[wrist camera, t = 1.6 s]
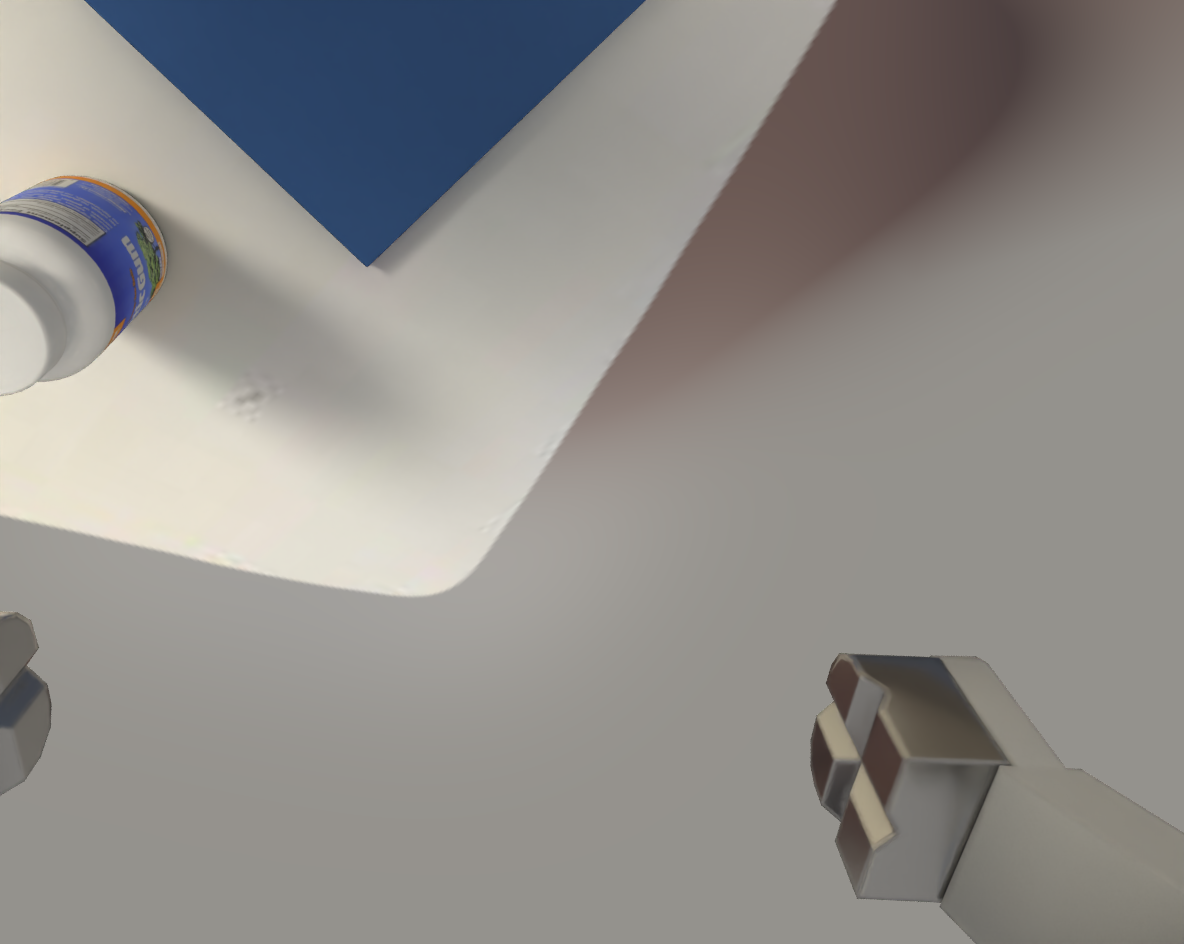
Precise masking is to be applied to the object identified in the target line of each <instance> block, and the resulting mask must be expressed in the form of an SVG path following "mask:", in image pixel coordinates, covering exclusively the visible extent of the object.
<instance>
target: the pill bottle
mask: <svg viewBox="0 0 1184 944" xmlns="http://www.w3.org/2000/svg"><path fill="white" fill-rule="evenodd" d="M166 270H167V250H166V245H165V242H164V239H163V236H162V234H161V232H160V229H159V227H158V226H157V224H156V222H155V221H154V219H153V218H152V217H151V215H150V214H149V213H148V211H147V210H146V209H145V208H144V207H143V206H142V205H141V204H140V203H139V202H138V201H136V200H135V199H134V198H133V197H131V196H130V195H129V194H127V193H126V192H124V191H123V190H121V189H119V188H117V187H115V186H113V185H111V184H109V183H107V182H104V181H102V180H99V179H95V178H91V177H84V176H60V177H55V178H52V179H48V180H46V181H43V182H40V183H38V184H36V185H35V186H33V187H31V188H29V189H27V190H25V191H23V192H21V193H19V194H17V195H15V196H13V197H11V198H9V199H7V200H5V201H3V202H1V203H0V396H4V395H11V394H14V393H17V392H21V391H23V390H25V389H27V388H29V387H31V386H32V385H34V384H35V383H36V382H47V381H53V380H59V379H62V378H66V377H68V376H71V375H74V374H76V373H77V372H79V371H81V370H83V369H84V368H86V367H87V366H88V365H90V364H91V363H92V362H93V361H94V360H95V359H96V358H97V357H98V356H99V355H100V354H102V352H103V351H104V350H105V349H106V348H107V347H108V346H109V345H110V344H111V343H112V342H113V341H114V340H115V338H116V337H117V336H118V335H119V334H120V333H121V332H122V331H123V330H124V329H125V328H126V327H127V326H128V324H129V323H130V322H131V321H132V320H133V319H134V318H135V317H136V316H137V315H138V314H139V313H140V312H141V311H142V310H143V309H144V307H145V306H146V305H147V304H148V303H149V302H150V301H151V300H152V299H153V298H154V296H155V295H156V294H157V292H158V291H159V289H160V287H161V286H162V283H163V281H164V278H165V275H166Z"/></svg>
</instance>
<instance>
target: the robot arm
mask: <svg viewBox="0 0 1184 944" xmlns="http://www.w3.org/2000/svg"><path fill="white" fill-rule="evenodd" d="M38 648H39V647H38V643H37V639H36V636H35V632H34V629H33V625H32V622H31V620H30V619H28V618H26V617H24V616H23V615H21V614H19V613H17V612H3V611H0V795H2V794H4V793H5V792H7V791H9V790H10V789H12V788H14V787H15V786H17V785H19V784H20V783H22V782H24V781H25V779H26V778H27V776H28V775H29V774H30V772H31V771H32V769H33V768H34V766H35V765H36V763H37V762H38V760H39V759H40V757H41V754H42V751H43V748H44V745H45V742H46V740H47V736H48V733H49V731H50V728H51V699H50V695H49V690H48V685H47V683H45V682H44V681H43V680H42V679H41V678H40V677H39V676H38V675H37V674H36V673H35V672H34V671H32V670H31V669H30V668H29V667H28V666H27V664H28V662H29V661H30V659H31V658H32V657H33V655H34V654H35V653H36V651H37V650H38ZM826 684H827V686H828V689H829V691H830V693H831V695H832V698H833V700H834V701H833V702H832V703H831V704H830V705H829V706H827V707H826V708H825V709H824V710H823V711H821V712H820V713H819V714H818V715H817V717H816V721H815V725H814V729H813V733H812V737H811V771H812V776H813V781H814V786H815V789H816V792H817V795H818V797H819V800H820V803H821V805H822V806H823V807H824V808H825V809H826V810H827V811H829V812H830V813H831V814H832V815H833V816H834V817H836V818H837V819H838V820H839V821H840V822H841V823H840V827H839V830H838V833H837V836H836V839H835V842H836V845H837V848H838V851H839V853H840V856H841V858H842V861H843V863H844V866H845V869H846V871H847V874H848V877H849V879H850V882H851V884H852V887H853V890H854V892H855V895H856V897H857V899H877V900H898V901H918V902H919V901H920V902H939V903H941V904H940V908H941V909H942V910H943V911H944V912H945V913H946V914H947V915H948V916H949V917H950V918H951V919H952V920H953V921H954V922H955V923H956V924H957V925H958V926H959V927H960V928H961V929H962V930H963V931H964V932H965V933H966V934H967V935H968V936H969V937H970V938H971V939H972V940H973V941H974V942H975V943H976V944H1184V833H1183V832H1181V831H1180V830H1178V829H1177V828H1175V827H1174V826H1172V825H1170V824H1169V823H1167V822H1165V821H1164V820H1162V819H1161V818H1159V817H1157V816H1156V815H1154V814H1153V813H1151V812H1149V811H1148V810H1146V809H1145V808H1143V807H1141V806H1140V805H1138V804H1137V803H1135V802H1133V801H1132V800H1130V799H1129V798H1127V797H1125V796H1123V795H1122V794H1120V793H1119V792H1117V791H1116V790H1114V789H1112V788H1111V787H1109V786H1108V785H1106V784H1104V783H1103V782H1101V781H1099V780H1098V779H1096V778H1095V777H1093V776H1092V775H1090V774H1088V773H1087V772H1085V771H1084V770H1082V769H1071V768H1065V766H1064V765H1063V763H1062V762H1061V761H1060V759H1059V758H1058V757H1057V755H1056V754H1055V753H1054V751H1053V750H1052V749H1051V747H1050V746H1049V745H1048V743H1047V742H1046V741H1045V739H1044V738H1043V737H1042V735H1041V734H1040V733H1039V731H1038V730H1037V728H1036V727H1035V726H1034V724H1033V723H1032V722H1031V721H1030V719H1029V718H1028V716H1027V715H1026V714H1025V712H1024V711H1023V710H1022V708H1021V707H1020V706H1019V704H1018V703H1017V702H1016V700H1015V699H1014V698H1013V696H1012V695H1011V694H1010V692H1009V691H1008V690H1007V688H1006V687H1005V686H1004V684H1003V683H1002V682H1001V680H1000V679H999V678H998V676H997V675H996V674H995V672H994V671H993V670H992V668H991V667H990V666H989V664H988V663H986V662H985V661H983V660H981V659H980V658H978V657H976V656H930V657H915V656H894V655H893V656H891V655H870V654H847V653H839V654H838V656H837V657H836V659H835V660H834V662H833V663H832V665H831V668H830V672H829V675H828V678H827V681H826Z"/></svg>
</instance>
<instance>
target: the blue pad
mask: <svg viewBox="0 0 1184 944" xmlns="http://www.w3.org/2000/svg"><path fill="white" fill-rule="evenodd" d="M84 1H86V2H87V3H88V4H89V5H90V6H91V7H92V8H93V9H94V10H95V11H96V12H97V13H98V14H99V15H100V16H101V17H102V18H104V19H105V20H106V21H107V22H108V23H109V24H110V25H111V26H112V27H113V28H114V29H115V30H116V31H117V32H118V33H119V34H120V35H122V36H123V37H124V38H125V39H126V40H127V41H128V42H129V43H130V44H131V45H132V46H133V47H134V48H135V49H136V50H137V51H138V52H140V53H141V54H142V55H143V56H144V57H145V58H146V59H147V60H148V61H149V62H150V63H151V64H152V65H153V66H154V67H155V68H156V69H157V70H159V71H160V72H161V73H162V74H163V75H164V76H165V77H166V78H167V79H168V80H169V81H170V82H171V83H172V84H173V85H174V86H175V87H177V88H178V89H179V90H180V91H181V92H182V93H183V94H184V95H185V96H186V97H187V98H188V99H189V100H190V101H191V102H192V103H193V104H195V105H196V106H197V107H198V108H199V109H200V110H201V111H202V112H203V113H204V114H205V115H206V116H207V117H208V118H209V119H210V120H211V121H213V122H214V123H215V124H216V125H217V126H218V127H219V128H220V129H221V130H222V131H223V132H224V133H225V134H226V135H227V136H228V137H229V138H231V139H232V140H233V141H234V142H235V143H236V144H237V145H238V146H239V147H240V148H241V149H242V150H243V151H244V152H245V153H246V154H247V155H249V156H250V157H251V158H252V159H253V160H254V161H255V162H256V163H257V164H258V165H259V166H260V167H261V168H262V169H263V170H264V171H265V172H267V173H268V174H269V175H270V176H271V177H272V178H273V179H274V180H275V181H276V182H277V183H278V184H279V185H280V186H281V187H282V188H283V189H284V190H286V191H287V192H288V193H289V194H290V195H291V196H292V197H293V198H294V199H295V200H296V201H297V202H298V203H299V204H300V205H301V206H302V207H304V208H305V209H306V210H307V211H308V212H309V213H310V214H311V215H312V216H313V217H314V218H315V219H316V220H317V221H318V222H319V223H320V224H322V225H323V226H324V227H325V228H326V229H327V230H328V231H329V232H330V233H331V234H332V235H333V236H334V237H335V238H336V239H337V240H338V241H340V242H341V243H342V244H343V245H344V246H345V247H346V248H347V249H348V250H349V251H350V252H351V253H352V254H353V255H354V256H355V257H356V258H358V259H359V260H360V261H361V262H362V263H363V264H364V265H365V266H366V267H368V266H369V265H370V264H371V263H372V262H374V261H375V260H376V259H377V258H378V257H379V256H380V255H381V254H382V253H383V252H384V251H385V250H386V249H387V248H388V247H389V246H390V245H391V244H392V243H393V242H394V241H395V240H396V239H397V238H399V237H400V236H401V235H402V234H403V233H404V232H405V231H406V230H407V229H408V228H409V227H410V226H411V225H412V224H413V223H414V222H415V221H416V220H417V219H418V218H419V217H420V216H421V215H422V214H424V213H425V212H426V211H427V210H428V209H429V208H430V207H431V206H432V205H433V204H434V203H435V202H436V201H437V200H438V199H439V198H440V197H441V196H442V195H443V194H444V193H445V192H446V191H448V190H449V189H450V188H451V187H452V186H453V185H454V184H455V183H456V182H457V181H458V180H459V179H460V178H461V177H462V176H463V175H464V174H465V173H466V172H467V171H468V170H469V169H470V168H471V167H473V166H474V165H475V164H476V163H477V162H478V161H479V160H480V159H481V158H482V157H483V156H484V155H485V154H486V153H487V152H488V151H489V150H490V149H491V148H492V147H493V146H494V145H495V144H496V143H498V142H499V141H500V140H501V139H502V138H503V137H504V136H505V135H506V134H507V133H508V132H509V131H510V130H511V129H512V128H513V127H514V126H515V125H516V124H517V123H518V122H519V121H520V120H521V119H523V118H524V117H525V116H526V115H527V114H528V113H529V112H530V111H531V110H532V109H533V108H534V107H535V106H536V105H537V104H538V103H539V102H540V101H541V100H542V99H543V98H544V97H545V96H546V95H548V94H549V93H550V92H551V91H552V90H553V89H554V88H555V87H556V86H557V85H558V84H559V83H560V82H561V81H562V80H563V79H564V78H565V77H566V76H567V75H568V74H569V73H570V72H572V71H573V70H574V69H575V68H576V67H577V66H578V65H579V64H580V63H581V62H582V61H583V60H584V59H585V58H586V57H587V56H588V55H589V54H590V53H591V52H592V51H593V50H594V49H595V48H597V47H598V46H599V45H600V44H601V43H602V42H603V41H604V40H605V39H606V38H607V37H608V36H609V35H610V34H611V33H612V32H613V31H614V30H615V29H616V28H617V27H618V26H619V25H620V24H622V23H623V22H624V21H625V20H626V19H627V18H628V17H629V16H630V15H631V14H632V13H633V12H634V11H635V10H636V9H637V8H638V7H639V6H640V5H641V4H642V3H643V2H644V1H645V0H84Z"/></svg>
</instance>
